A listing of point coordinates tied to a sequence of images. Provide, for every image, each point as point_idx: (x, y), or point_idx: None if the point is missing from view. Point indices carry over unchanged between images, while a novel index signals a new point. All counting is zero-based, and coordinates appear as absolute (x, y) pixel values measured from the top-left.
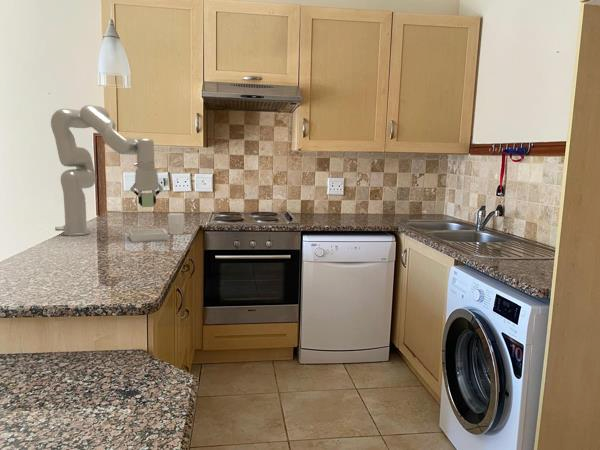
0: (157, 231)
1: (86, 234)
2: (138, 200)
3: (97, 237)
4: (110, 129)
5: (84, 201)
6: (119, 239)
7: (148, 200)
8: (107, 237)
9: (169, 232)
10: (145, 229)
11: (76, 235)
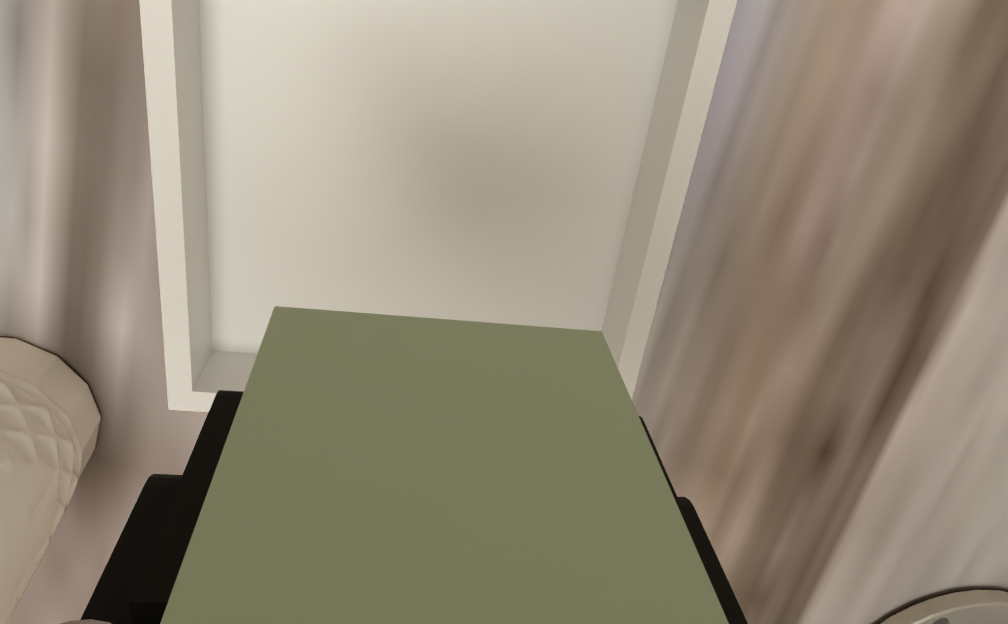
0: None
1: (896, 613)
2: None
3: (873, 469)
4: None
5: None
6: (741, 274)
7: (425, 439)
8: (796, 438)
9: (95, 426)
10: None
11: (987, 590)
